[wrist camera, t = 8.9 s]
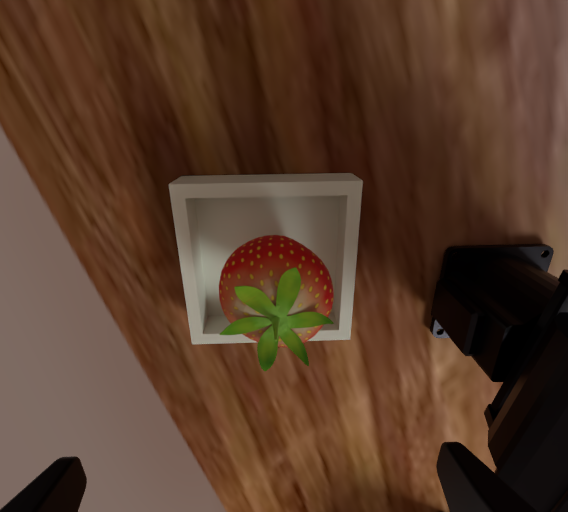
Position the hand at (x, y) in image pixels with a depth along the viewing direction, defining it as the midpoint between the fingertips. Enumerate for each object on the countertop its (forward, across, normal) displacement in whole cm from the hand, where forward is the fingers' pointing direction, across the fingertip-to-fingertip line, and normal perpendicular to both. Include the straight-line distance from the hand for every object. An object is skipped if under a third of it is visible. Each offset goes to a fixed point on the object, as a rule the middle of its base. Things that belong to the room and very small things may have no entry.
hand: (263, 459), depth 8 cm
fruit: (+13, 0, 0) cm, 13 cm away
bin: (+13, 0, 0) cm, 13 cm away
